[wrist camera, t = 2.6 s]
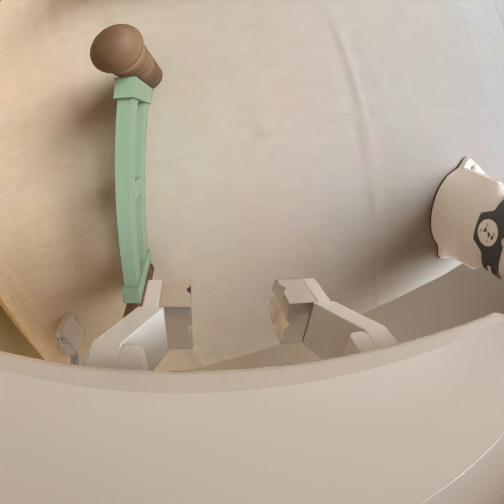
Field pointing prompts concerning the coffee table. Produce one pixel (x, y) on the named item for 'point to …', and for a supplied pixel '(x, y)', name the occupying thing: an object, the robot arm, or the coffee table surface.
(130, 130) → the gate
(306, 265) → the coffee table surface
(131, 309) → the gate posts
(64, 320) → the lighter
